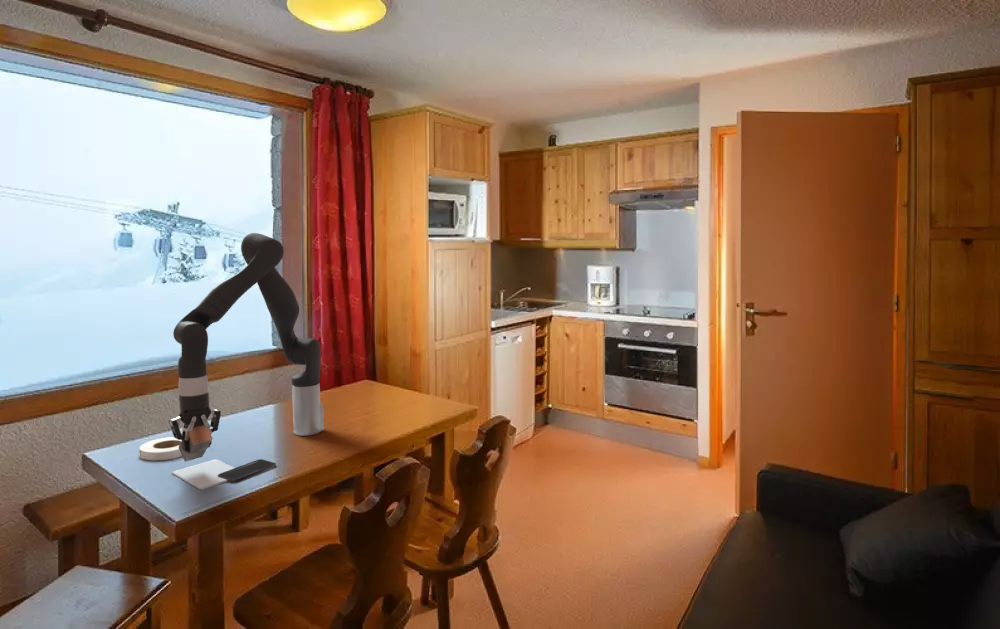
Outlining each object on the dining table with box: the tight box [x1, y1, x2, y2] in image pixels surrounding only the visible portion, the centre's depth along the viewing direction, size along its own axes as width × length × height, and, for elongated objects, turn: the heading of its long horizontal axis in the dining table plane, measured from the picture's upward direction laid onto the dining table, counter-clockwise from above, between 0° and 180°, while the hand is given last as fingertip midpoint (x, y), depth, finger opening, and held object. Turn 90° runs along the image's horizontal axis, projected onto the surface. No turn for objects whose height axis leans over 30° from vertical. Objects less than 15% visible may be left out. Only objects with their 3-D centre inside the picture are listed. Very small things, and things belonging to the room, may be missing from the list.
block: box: [178, 425, 214, 463], centre depth 173 cm, size 5×5×10 cm
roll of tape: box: [138, 436, 182, 461], centre depth 192 cm, size 16×15×3 cm
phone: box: [218, 458, 277, 484], centre depth 176 cm, size 8×1×15 cm
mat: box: [171, 458, 235, 491], centre depth 174 cm, size 13×18×1 cm
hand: (197, 449), depth 172 cm, fingers closed on block, 5 cm apart
